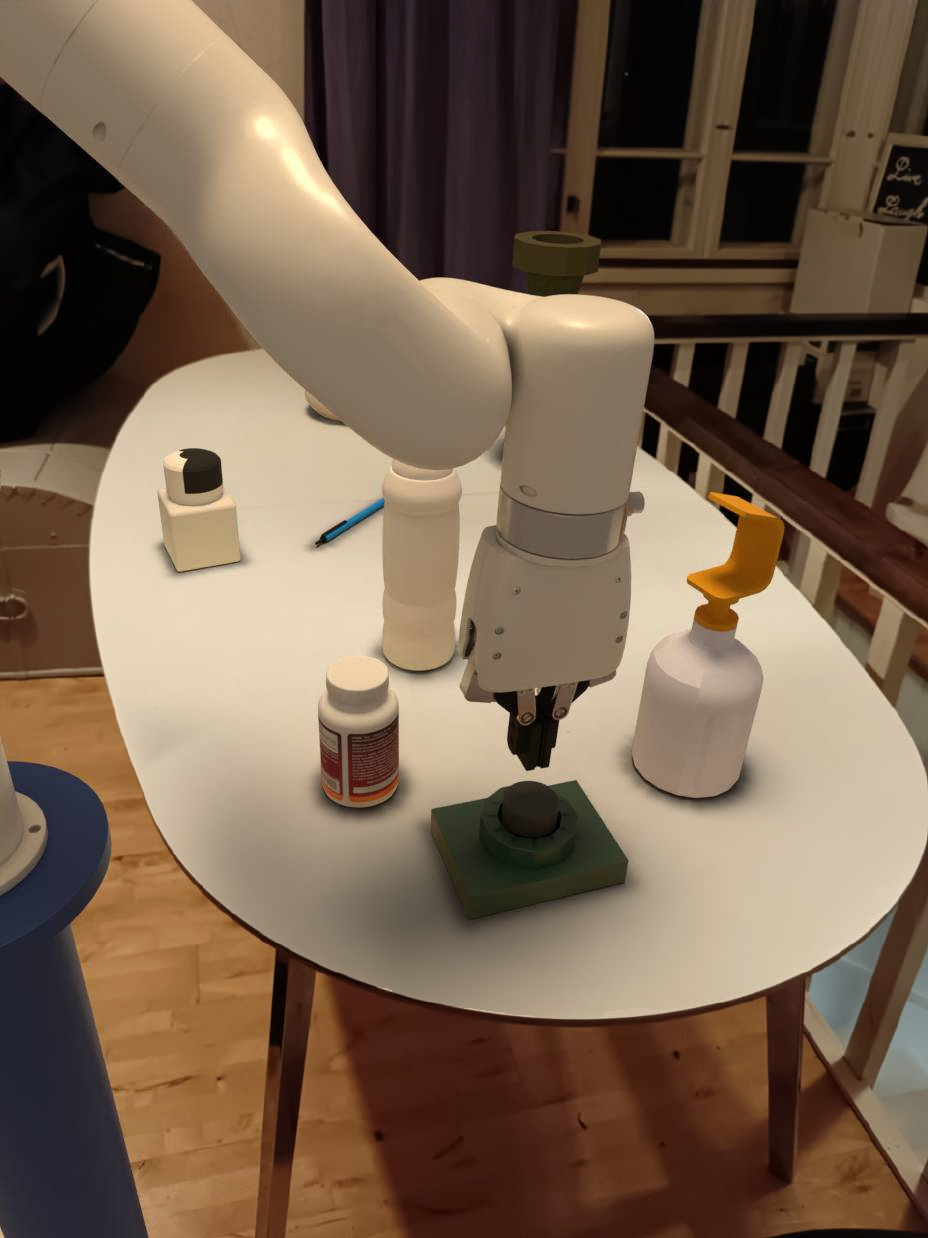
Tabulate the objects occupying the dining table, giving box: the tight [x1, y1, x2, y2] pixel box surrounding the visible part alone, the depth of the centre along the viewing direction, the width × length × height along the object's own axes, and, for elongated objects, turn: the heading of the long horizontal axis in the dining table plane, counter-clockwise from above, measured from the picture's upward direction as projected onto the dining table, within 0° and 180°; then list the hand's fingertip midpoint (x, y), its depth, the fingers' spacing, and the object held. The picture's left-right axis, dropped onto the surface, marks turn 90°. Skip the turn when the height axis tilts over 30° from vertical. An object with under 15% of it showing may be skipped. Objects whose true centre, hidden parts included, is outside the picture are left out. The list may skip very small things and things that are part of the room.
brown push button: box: [502, 780, 559, 839], centre depth 69 cm, size 4×4×2 cm
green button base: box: [430, 779, 629, 920], centre depth 70 cm, size 12×9×4 cm
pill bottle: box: [317, 654, 400, 808], centre depth 74 cm, size 6×6×11 cm
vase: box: [511, 230, 602, 297], centre depth 130 cm, size 16×16×30 cm
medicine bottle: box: [156, 447, 241, 573], centre depth 106 cm, size 7×7×12 cm
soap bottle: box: [630, 491, 785, 799], centre depth 74 cm, size 9×9×25 cm
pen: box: [314, 497, 385, 546], centre depth 118 cm, size 1×19×1 cm, turn 151°
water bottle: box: [381, 458, 463, 672], centre depth 87 cm, size 7×7×25 cm
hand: (529, 756), depth 66 cm, fingers closed
